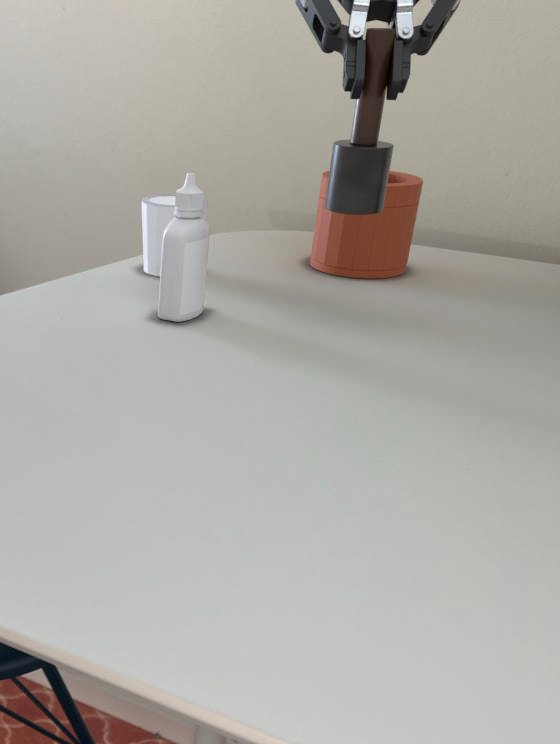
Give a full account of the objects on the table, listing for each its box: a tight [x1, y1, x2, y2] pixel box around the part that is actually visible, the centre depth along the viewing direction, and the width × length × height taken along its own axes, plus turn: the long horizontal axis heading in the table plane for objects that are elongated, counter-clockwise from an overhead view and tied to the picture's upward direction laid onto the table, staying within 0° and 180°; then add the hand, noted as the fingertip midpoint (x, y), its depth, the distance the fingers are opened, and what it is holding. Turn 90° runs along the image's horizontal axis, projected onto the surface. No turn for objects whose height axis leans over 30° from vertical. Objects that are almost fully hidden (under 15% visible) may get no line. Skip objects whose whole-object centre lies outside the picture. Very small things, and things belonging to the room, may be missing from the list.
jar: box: [309, 170, 424, 280], centre depth 106 cm, size 10×10×9 cm
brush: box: [325, 27, 396, 215], centre depth 80 cm, size 5×5×13 cm
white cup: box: [141, 194, 208, 278], centre depth 103 cm, size 7×7×7 cm
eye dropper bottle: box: [157, 172, 211, 323], centre depth 89 cm, size 4×6×12 cm
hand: (375, 91), depth 77 cm, fingers closed on brush
